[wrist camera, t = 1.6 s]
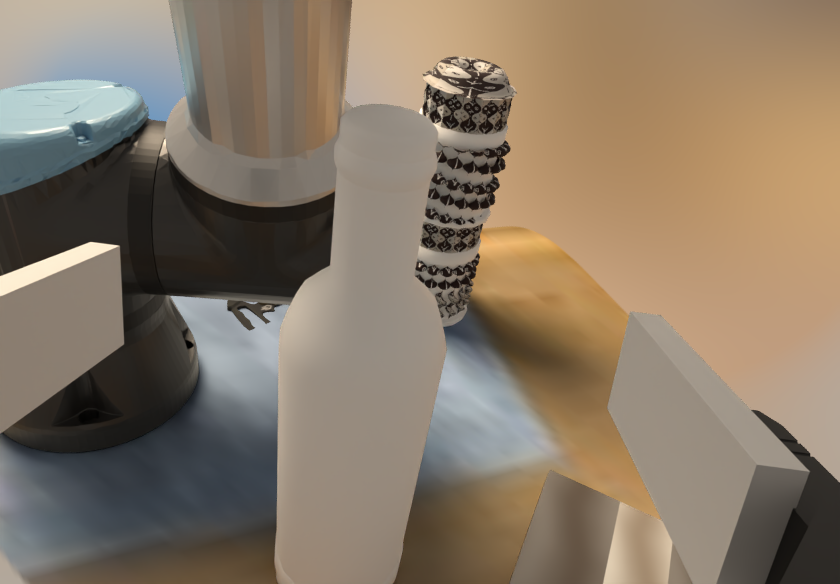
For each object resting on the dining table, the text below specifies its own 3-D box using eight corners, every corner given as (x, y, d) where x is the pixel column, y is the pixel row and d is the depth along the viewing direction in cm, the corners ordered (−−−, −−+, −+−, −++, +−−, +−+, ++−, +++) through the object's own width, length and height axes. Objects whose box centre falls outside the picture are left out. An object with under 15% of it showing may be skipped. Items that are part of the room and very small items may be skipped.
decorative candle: (418, 340, 58) (466, 86, 44) (369, 290, 64) (398, 50, 50) (487, 316, 63) (550, 80, 49) (436, 271, 69) (479, 48, 55)
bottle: (403, 624, 36) (524, 174, 19) (271, 635, 35) (272, 154, 18) (390, 509, 43) (471, 94, 25) (278, 514, 41) (283, 74, 24)
